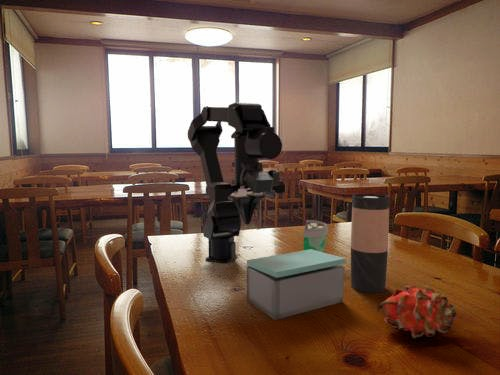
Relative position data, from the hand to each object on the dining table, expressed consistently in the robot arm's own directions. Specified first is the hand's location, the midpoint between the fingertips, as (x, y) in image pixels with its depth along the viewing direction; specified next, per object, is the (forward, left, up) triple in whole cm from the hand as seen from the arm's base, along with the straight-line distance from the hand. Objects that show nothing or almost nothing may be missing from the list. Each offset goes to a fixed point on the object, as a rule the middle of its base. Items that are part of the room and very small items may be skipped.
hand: (246, 224), depth 91 cm
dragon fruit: (+37, -15, -12) cm, 42 cm away
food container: (+12, +16, -12) cm, 24 cm away
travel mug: (+27, +3, -12) cm, 30 cm away
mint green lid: (+16, -11, -4) cm, 20 cm away
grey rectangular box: (+16, -11, -12) cm, 22 cm away
